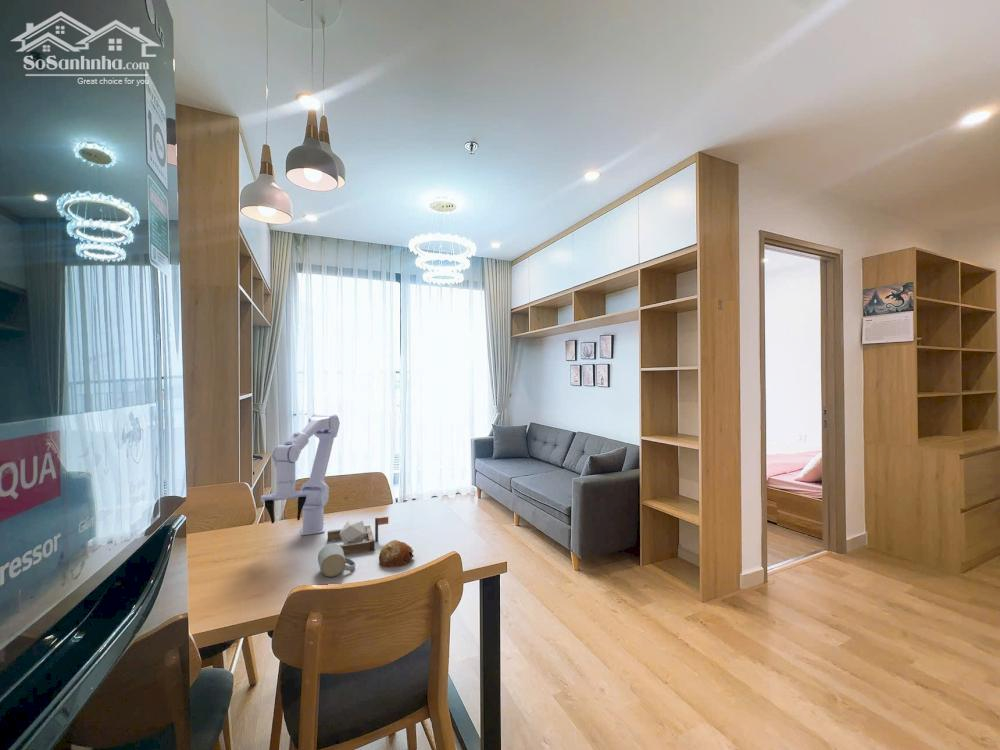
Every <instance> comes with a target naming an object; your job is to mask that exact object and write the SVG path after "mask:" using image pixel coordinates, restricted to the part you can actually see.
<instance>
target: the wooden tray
mask: <svg viewBox="0 0 1000 750" xmlns="http://www.w3.org/2000/svg"><path fill="white" fill-rule="evenodd" d="M374 523H375V524H374V527H375V528H374V534H373V531H372V528H371V527H372V526H371V525H364V526H365V528H366V531H367V535H366V537H365V538H366V540H365V541H364V540H363V541H362V542H356V543H350V544H344V543H342V544H338V545H339V546H341V547H342V549H343V551H344V556H349V555H353V554H354V555H356V554H360V553H368V552H373V551H375V550H376V549H375V548H376V547H375V544H376V542H379V526H382V525H388V524H389V516H382V517H375V518H374ZM342 529H343V528H340V529H334V530H333V529H332V530H327V542H331V541H336V540H337V541H338V540H342V539H341V536H340V534H339V533H340V531H341V530H342ZM374 538H375V539H374Z"/></svg>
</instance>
